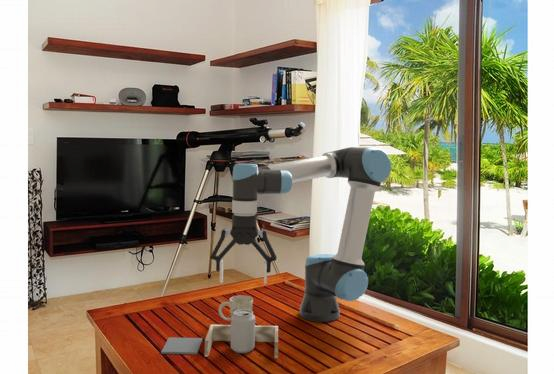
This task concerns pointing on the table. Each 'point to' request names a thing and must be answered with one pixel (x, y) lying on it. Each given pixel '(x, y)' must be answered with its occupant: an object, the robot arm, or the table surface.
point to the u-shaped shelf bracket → (225, 335)
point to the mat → (182, 346)
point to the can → (242, 331)
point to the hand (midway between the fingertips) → (243, 282)
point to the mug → (236, 305)
